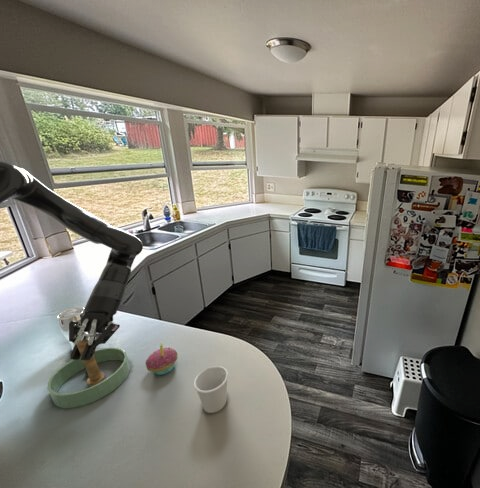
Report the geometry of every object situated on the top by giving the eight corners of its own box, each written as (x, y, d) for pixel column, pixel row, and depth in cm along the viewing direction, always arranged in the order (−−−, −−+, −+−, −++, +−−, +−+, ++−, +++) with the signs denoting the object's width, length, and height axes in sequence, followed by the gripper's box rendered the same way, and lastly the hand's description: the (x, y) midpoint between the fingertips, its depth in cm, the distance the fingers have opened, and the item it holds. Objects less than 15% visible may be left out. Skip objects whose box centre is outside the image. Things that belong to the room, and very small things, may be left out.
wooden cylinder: (85, 388, 71) (70, 349, 66) (89, 377, 74) (75, 340, 70) (103, 382, 73) (89, 344, 68) (106, 372, 76) (94, 335, 72)
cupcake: (185, 367, 82) (179, 337, 78) (157, 386, 75) (149, 354, 71) (170, 356, 86) (163, 327, 82) (143, 373, 79) (134, 343, 75)
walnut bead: (85, 379, 75) (83, 373, 74) (87, 373, 77) (85, 367, 76) (95, 376, 76) (93, 370, 76) (97, 370, 78) (95, 364, 78)
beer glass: (92, 339, 92) (80, 304, 87) (100, 346, 89) (88, 311, 83) (66, 351, 86) (52, 314, 81) (74, 359, 83) (60, 322, 78)
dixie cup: (207, 426, 64) (202, 398, 61) (193, 406, 69) (188, 378, 66) (237, 404, 70) (234, 377, 67) (222, 386, 75) (218, 360, 72)
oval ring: (42, 421, 64) (34, 406, 62) (66, 372, 78) (61, 358, 76) (125, 394, 72) (121, 379, 70) (134, 353, 86) (130, 341, 84)
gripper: (72, 293, 73) (41, 358, 65) (119, 295, 72) (92, 361, 65) (94, 299, 79) (68, 358, 72) (137, 301, 79) (114, 361, 72)
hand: (79, 359), depth 68 cm, fingers closed on wooden cylinder, 2 cm apart
